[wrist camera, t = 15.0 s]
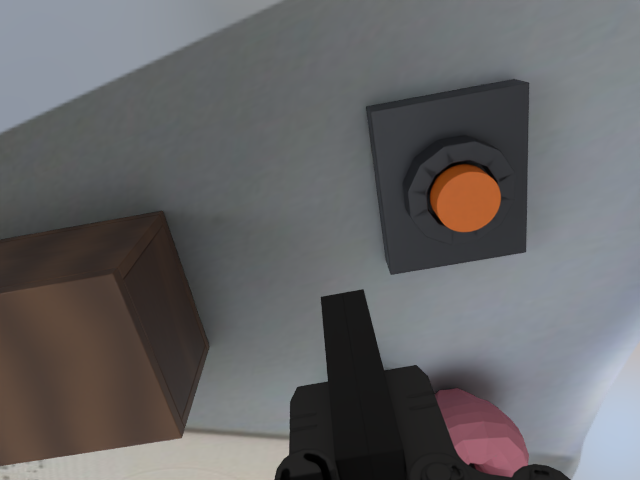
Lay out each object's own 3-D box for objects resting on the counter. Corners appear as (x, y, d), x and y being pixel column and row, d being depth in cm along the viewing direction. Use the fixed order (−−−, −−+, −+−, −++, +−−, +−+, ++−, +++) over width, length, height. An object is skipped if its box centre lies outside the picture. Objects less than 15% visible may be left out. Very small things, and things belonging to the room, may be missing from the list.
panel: (366, 106, 31) (374, 116, 27) (514, 78, 30) (543, 85, 27) (386, 261, 36) (395, 287, 32) (513, 239, 35) (537, 263, 32)
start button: (427, 169, 29) (434, 177, 27) (490, 158, 29) (501, 166, 27) (431, 226, 31) (438, 237, 29) (491, 216, 31) (501, 226, 29)
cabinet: (45, 373, 39) (-29, 470, 31) (-26, 243, 34) (-140, 317, 25) (209, 346, 39) (182, 438, 30) (163, 210, 33) (112, 273, 25)
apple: (442, 350, 40) (482, 445, 31) (517, 387, 42) (576, 487, 33) (380, 421, 43) (400, 526, 34) (453, 453, 45) (491, 560, 36)
